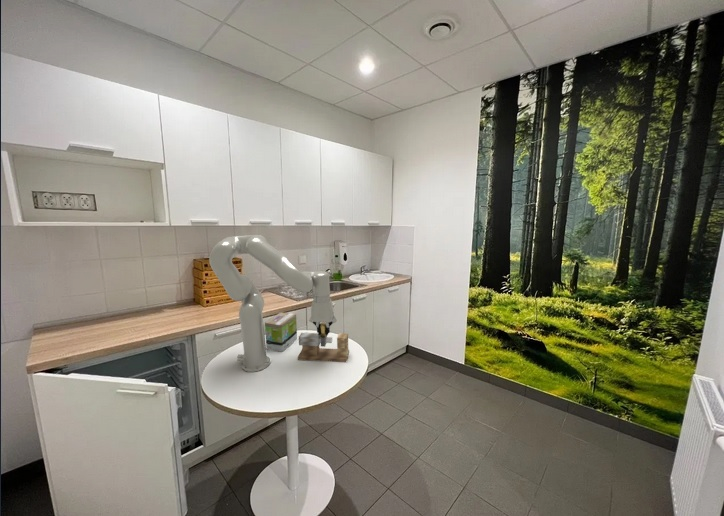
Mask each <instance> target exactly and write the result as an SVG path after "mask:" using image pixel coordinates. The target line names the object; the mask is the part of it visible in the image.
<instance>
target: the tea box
mask: <svg viewBox="0 0 724 516" xmlns="http://www.w3.org/2000/svg"><path fill="white" fill-rule="evenodd" d="M297 329H298V328H297V313H289V312H288V313H287V312H282V311H280V312H278V314H276V315H275V316H273V317H271V318H270V319H268V320H267V321H266V322H264V333H265V344H266V350H269V351H276V352H281V353H282V352H284V351H285V350H287V349H288V348H289V347H290V346H291V344H293V343H294V342H295V341H296V340H297V339H298V330H297Z"/></svg>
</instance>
